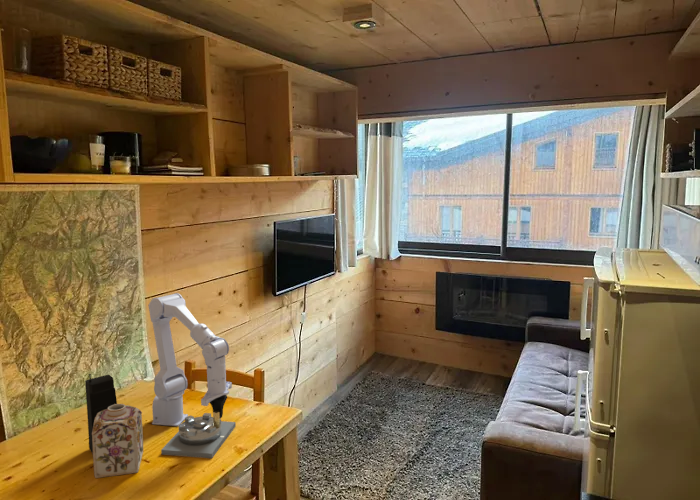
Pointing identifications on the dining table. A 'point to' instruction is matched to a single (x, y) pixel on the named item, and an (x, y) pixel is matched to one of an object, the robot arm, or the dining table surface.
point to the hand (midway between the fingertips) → (218, 417)
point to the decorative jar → (117, 441)
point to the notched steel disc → (200, 429)
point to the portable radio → (98, 399)
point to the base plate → (202, 450)
